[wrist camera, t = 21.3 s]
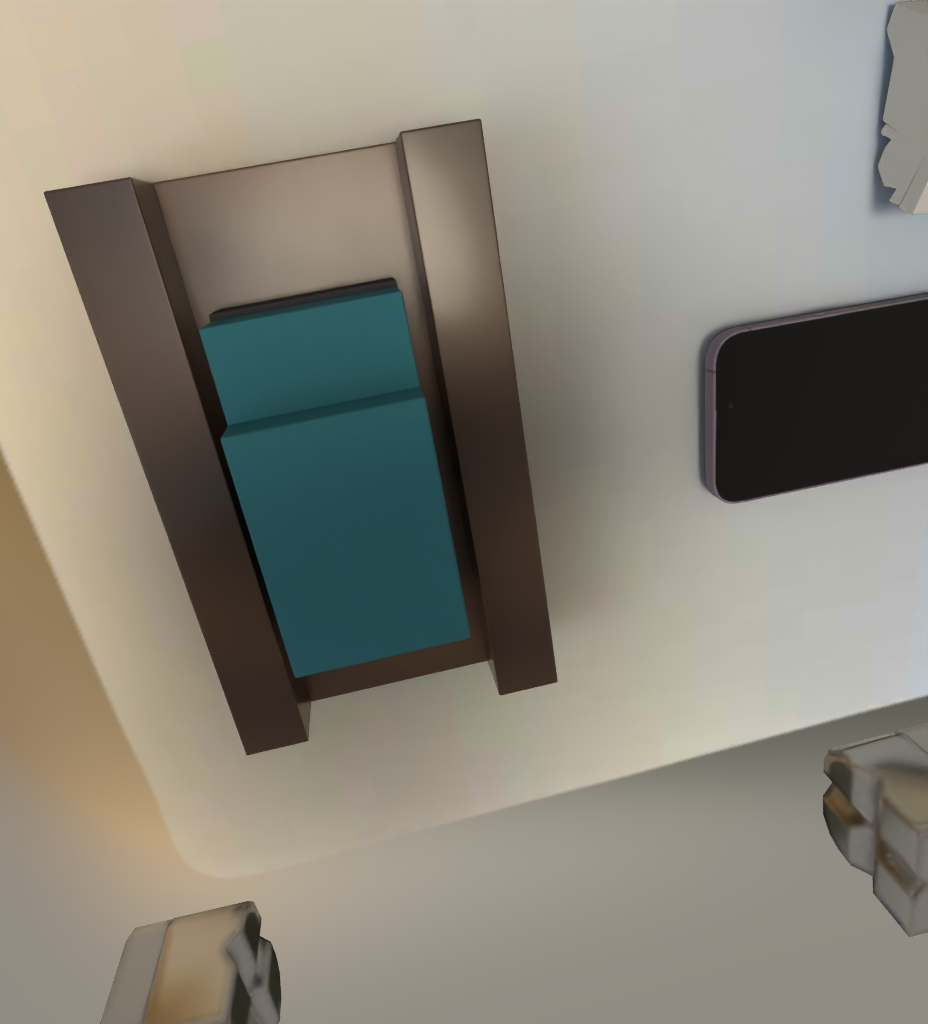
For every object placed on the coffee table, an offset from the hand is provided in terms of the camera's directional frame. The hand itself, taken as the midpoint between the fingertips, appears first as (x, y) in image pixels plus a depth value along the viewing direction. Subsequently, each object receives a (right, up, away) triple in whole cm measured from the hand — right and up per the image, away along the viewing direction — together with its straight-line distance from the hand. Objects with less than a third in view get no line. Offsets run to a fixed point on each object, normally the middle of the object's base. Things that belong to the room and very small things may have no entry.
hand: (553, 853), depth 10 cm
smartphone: (+16, +10, +20) cm, 28 cm away
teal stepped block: (-6, +7, +16) cm, 18 cm away
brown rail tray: (-6, +7, +18) cm, 20 cm away
